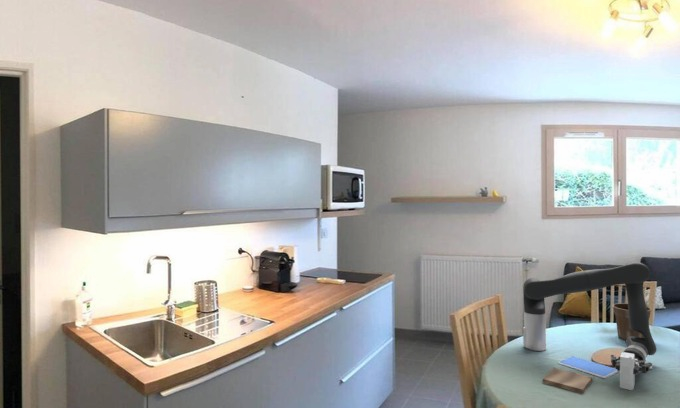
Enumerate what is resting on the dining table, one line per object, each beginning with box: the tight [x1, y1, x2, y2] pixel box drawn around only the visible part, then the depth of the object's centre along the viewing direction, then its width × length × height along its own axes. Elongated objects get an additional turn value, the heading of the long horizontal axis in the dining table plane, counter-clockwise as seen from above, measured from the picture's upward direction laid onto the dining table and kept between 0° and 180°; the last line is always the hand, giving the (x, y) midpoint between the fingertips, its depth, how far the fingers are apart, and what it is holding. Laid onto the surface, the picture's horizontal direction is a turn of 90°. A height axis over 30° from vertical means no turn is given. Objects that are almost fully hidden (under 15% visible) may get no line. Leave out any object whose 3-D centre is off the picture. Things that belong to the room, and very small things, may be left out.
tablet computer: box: [557, 355, 620, 379], centre depth 173 cm, size 19×13×1 cm, turn 32°
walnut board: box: [542, 367, 593, 394], centre depth 160 cm, size 14×14×2 cm
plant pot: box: [612, 302, 653, 341], centre depth 206 cm, size 16×16×16 cm
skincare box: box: [619, 351, 636, 391], centre depth 155 cm, size 6×4×12 cm
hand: (626, 370), depth 153 cm, fingers closed on skincare box, 4 cm apart
